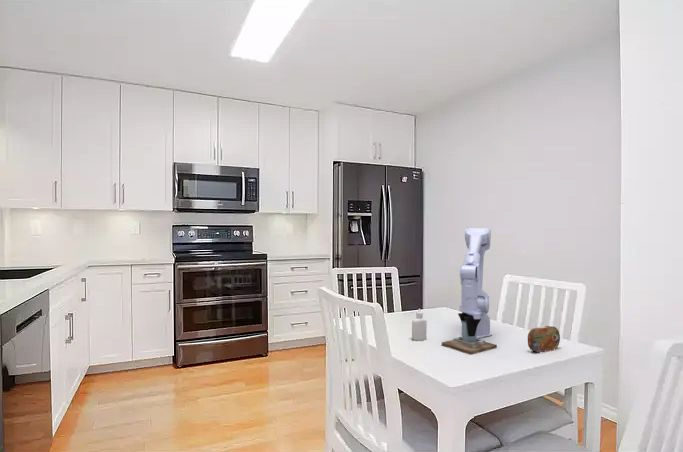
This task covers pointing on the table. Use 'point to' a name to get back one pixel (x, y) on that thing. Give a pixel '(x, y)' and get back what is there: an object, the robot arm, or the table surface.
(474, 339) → the peg
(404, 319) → the table surface
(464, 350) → the dock
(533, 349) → the tin
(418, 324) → the eye dropper bottle
